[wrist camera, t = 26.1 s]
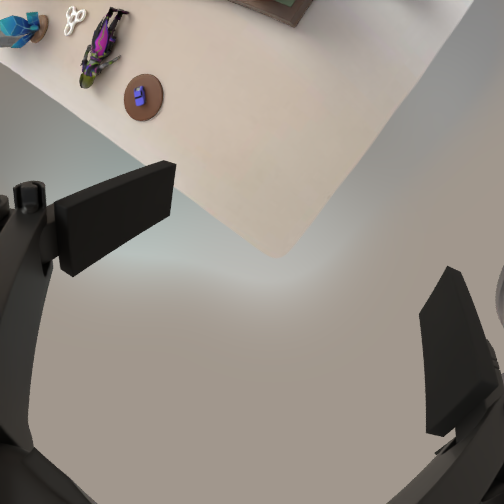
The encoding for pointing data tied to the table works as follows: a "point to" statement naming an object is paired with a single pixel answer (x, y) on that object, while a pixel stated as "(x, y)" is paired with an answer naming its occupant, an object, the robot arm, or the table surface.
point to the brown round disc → (143, 97)
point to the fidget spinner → (74, 19)
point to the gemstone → (25, 28)
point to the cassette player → (8, 40)
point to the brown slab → (278, 9)
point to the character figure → (99, 48)
